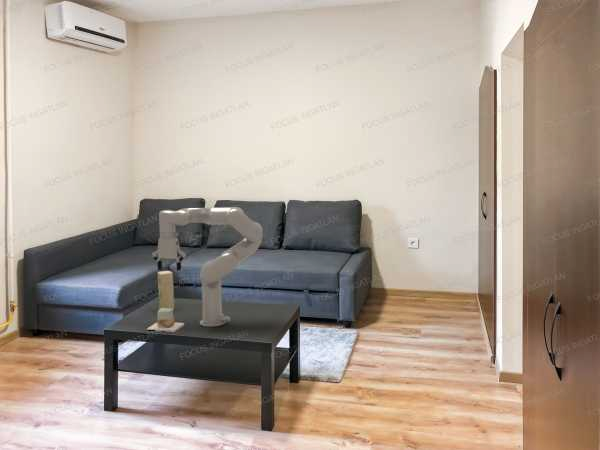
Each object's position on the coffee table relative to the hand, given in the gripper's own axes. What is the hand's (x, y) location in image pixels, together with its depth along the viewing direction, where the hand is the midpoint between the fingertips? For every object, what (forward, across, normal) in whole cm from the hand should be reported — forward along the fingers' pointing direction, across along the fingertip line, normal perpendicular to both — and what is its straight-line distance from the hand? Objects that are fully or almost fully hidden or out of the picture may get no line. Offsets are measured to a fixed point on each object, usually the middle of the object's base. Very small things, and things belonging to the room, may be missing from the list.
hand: (169, 269), depth 277 cm
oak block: (+27, +1, +6) cm, 27 cm away
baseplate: (+28, +1, +6) cm, 28 cm away
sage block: (+23, +1, +6) cm, 23 cm away
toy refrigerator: (+28, +14, -25) cm, 40 cm away
